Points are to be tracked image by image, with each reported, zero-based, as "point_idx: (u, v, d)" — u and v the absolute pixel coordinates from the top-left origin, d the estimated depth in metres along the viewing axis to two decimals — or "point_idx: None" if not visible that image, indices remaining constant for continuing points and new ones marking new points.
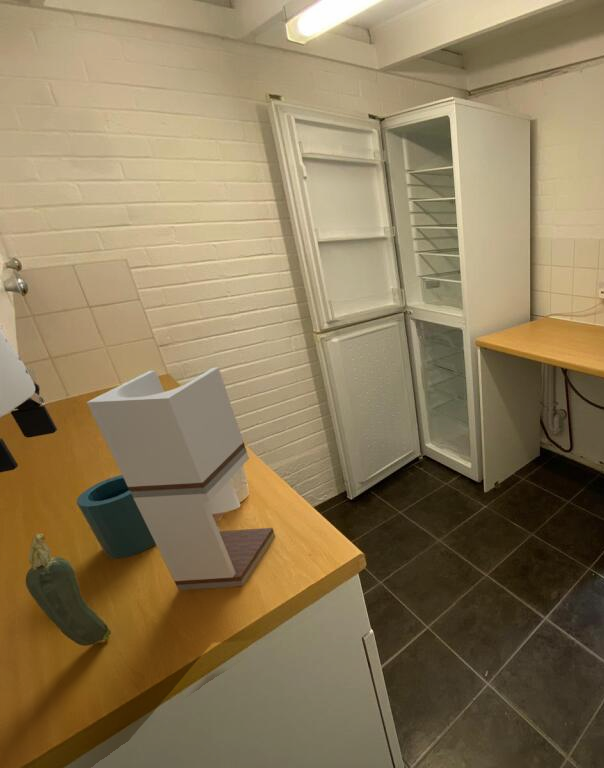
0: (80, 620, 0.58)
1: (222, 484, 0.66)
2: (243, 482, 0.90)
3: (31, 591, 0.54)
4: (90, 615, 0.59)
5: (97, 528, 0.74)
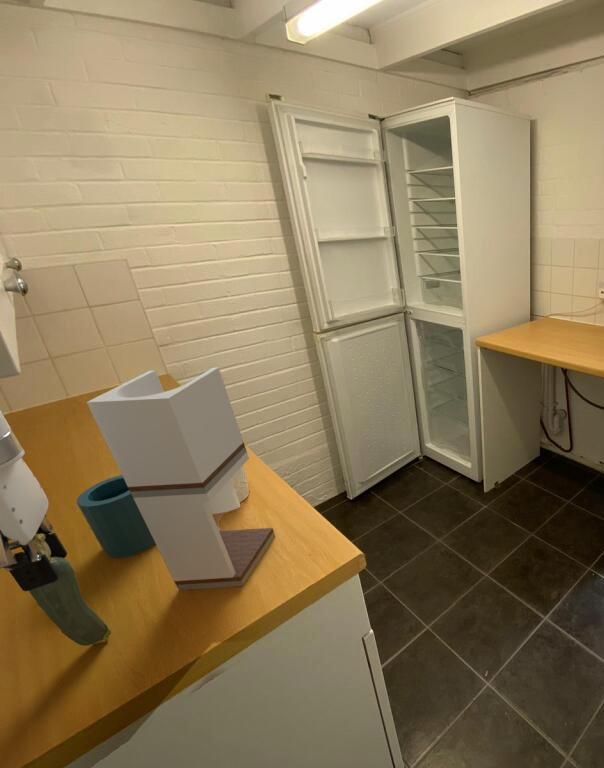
0: (80, 620, 0.58)
1: (222, 484, 0.66)
2: (243, 482, 0.90)
3: (31, 591, 0.54)
4: (90, 615, 0.59)
5: (97, 528, 0.74)
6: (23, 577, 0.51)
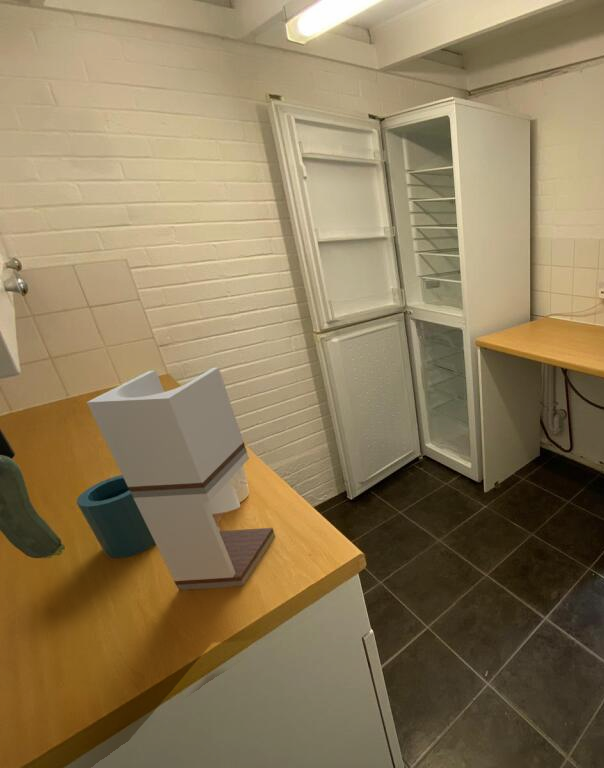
0: (28, 527, 0.53)
1: (222, 484, 0.66)
2: (243, 482, 0.90)
3: None
4: (40, 524, 0.54)
5: (97, 528, 0.74)
6: None
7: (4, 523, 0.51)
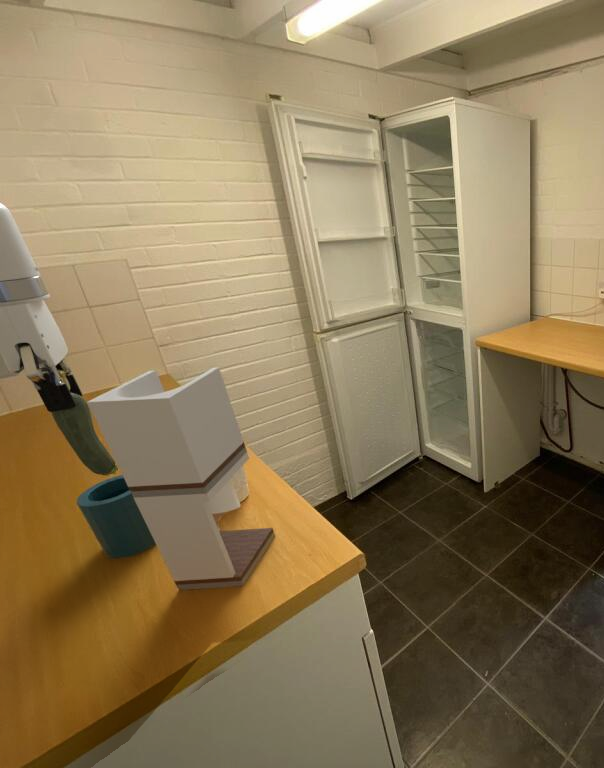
0: (93, 448, 0.71)
1: (222, 484, 0.66)
2: (243, 482, 0.90)
3: (54, 415, 0.67)
4: (101, 447, 0.72)
5: (97, 528, 0.74)
6: (48, 397, 0.64)
7: (77, 443, 0.69)
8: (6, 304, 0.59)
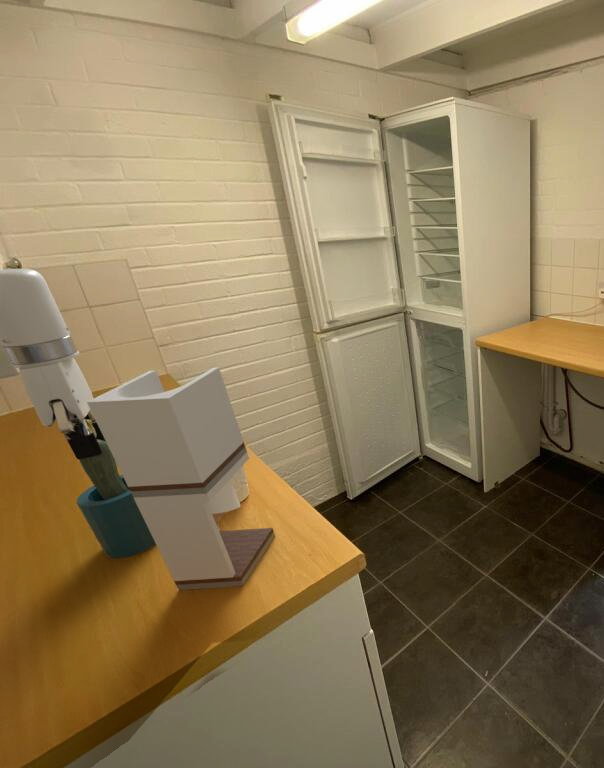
0: (117, 490, 0.75)
1: (222, 484, 0.66)
2: (243, 482, 0.90)
3: (82, 461, 0.71)
4: (124, 489, 0.76)
5: (97, 528, 0.74)
6: (77, 447, 0.69)
7: (103, 487, 0.73)
8: (41, 364, 0.63)
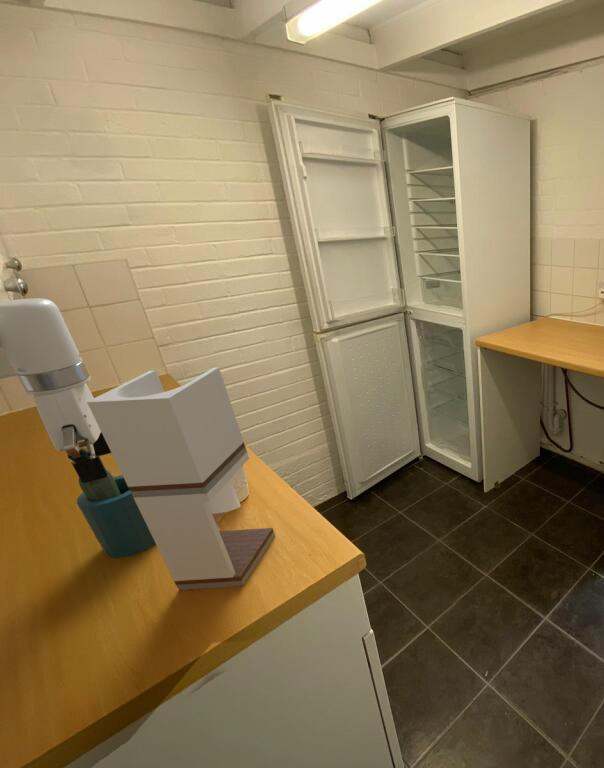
0: None
1: (222, 484, 0.66)
2: (243, 482, 0.90)
3: (84, 489, 0.72)
4: None
5: (97, 528, 0.74)
6: (83, 470, 0.68)
7: None
8: (54, 391, 0.65)
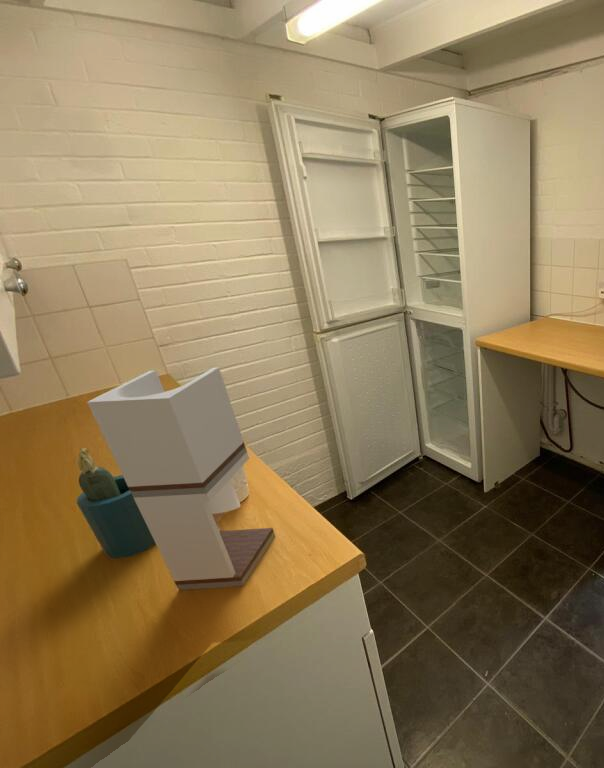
0: None
1: (222, 484, 0.66)
2: (243, 482, 0.90)
3: (84, 489, 0.72)
4: None
5: (97, 528, 0.74)
6: None
7: None
8: None
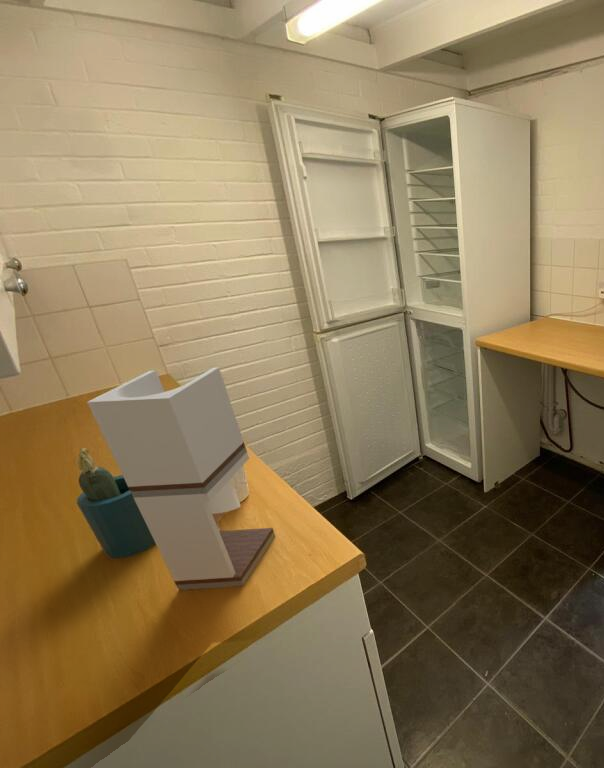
0: None
1: (222, 484, 0.66)
2: (243, 482, 0.90)
3: (84, 489, 0.72)
4: None
5: (97, 528, 0.74)
6: None
7: None
8: None
